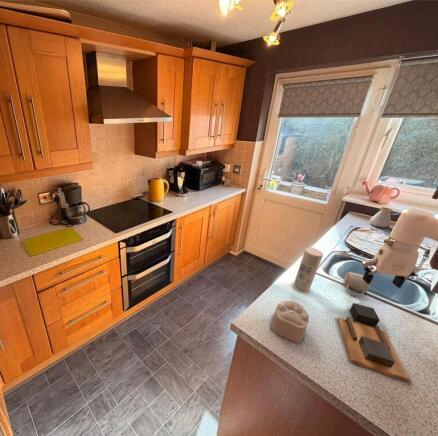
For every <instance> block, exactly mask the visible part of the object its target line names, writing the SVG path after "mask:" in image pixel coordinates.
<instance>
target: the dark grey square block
mask: <svg viewBox="0 0 438 436" xmlns="http://www.w3.org/2000/svg"><path fill="white" fill-rule="evenodd" d="M349 313H350V314H351V317H352V319H353V322H356V323H359V324H362V325H366V326H369V327H373V328H374V327H375V325H377V326H378V325H379V323H380V321H381V320H380V317H379V316H378V314H377V312H376V310H375V308H374V307H370V306H367V305H363V304H360V303H359V304H358V303H355V302H352V305H351V306H350V309H349Z"/></svg>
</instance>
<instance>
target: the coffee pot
mask: <svg viewBox="0 0 438 436" xmlns="http://www.w3.org/2000/svg"><path fill="white" fill-rule="evenodd" d="M391 212H393V209H392V208H389V207H381V206H380V208H379V211H378V212H376V213H375V214H374V215H373V216H372V217H371V218H370V219H369V222H370V224H371V225H372V226H373V227H377V228H383V229H385V228H388V227H391V226H392V218H391V216H396V215H401V213H402V212H395V213H391Z"/></svg>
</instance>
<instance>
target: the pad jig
mask: <svg viewBox="0 0 438 436" xmlns="http://www.w3.org/2000/svg"><path fill="white" fill-rule="evenodd" d="M337 322H338V325H339V326H338V327H339V329H340V331H341V334H342V335H341V336H342V338H343V341H344V344H345V346H346V351H347V354H348V357H349V360H350V362H351V363H353V364H356V365H359V366H361V367H364V368H367V369H371V370H373V371H376V372H379V373H382V374H384V375H388V376H391V377H393V378H395V379H399V380H402V381H405V382H410V379H411V378H410V377H409V375H408V372H407V370H406V369H405V367H404V365H403V363H402V362H401V359H400V358H399V356H398V353H397V352H396V350H395V348H394V346H393V344H392V342H391V340H390V338H389V336H388V335H387V332H386V330H382V329H381V327H380V326H379V325H378V324H377V325H375V327H371V326H368V325H365V324H361V323H358V322H354V321H352V320H351V317H350V316H346V317H345V318H341V317H337Z"/></svg>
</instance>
